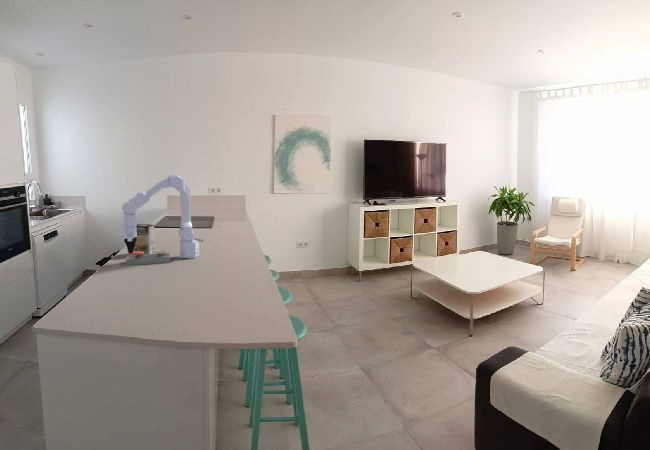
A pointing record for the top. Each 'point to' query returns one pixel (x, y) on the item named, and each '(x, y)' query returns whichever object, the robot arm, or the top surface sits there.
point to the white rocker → (158, 251)
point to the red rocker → (137, 253)
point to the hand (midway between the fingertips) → (131, 252)
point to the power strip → (147, 259)
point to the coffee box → (145, 238)
